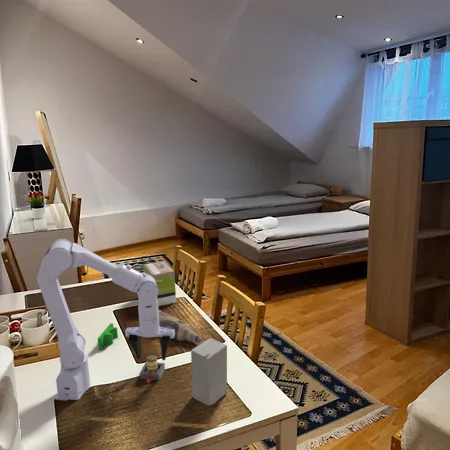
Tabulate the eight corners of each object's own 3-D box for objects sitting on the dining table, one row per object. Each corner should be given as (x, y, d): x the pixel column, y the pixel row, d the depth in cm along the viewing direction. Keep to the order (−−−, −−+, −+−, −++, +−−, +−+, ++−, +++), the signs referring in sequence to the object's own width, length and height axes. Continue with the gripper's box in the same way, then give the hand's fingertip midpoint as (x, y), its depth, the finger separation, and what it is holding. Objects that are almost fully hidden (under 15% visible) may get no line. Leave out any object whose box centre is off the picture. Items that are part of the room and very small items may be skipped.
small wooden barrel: (156, 377, 126) (155, 361, 124) (145, 376, 126) (144, 361, 125) (159, 370, 129) (158, 355, 128) (149, 370, 129) (148, 355, 128)
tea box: (144, 295, 189) (142, 263, 185) (166, 290, 193) (164, 260, 189) (154, 307, 175) (151, 274, 172) (176, 303, 179) (175, 270, 176)
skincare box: (210, 385, 123) (209, 335, 119) (229, 394, 118) (228, 343, 114) (190, 399, 116) (188, 348, 112) (210, 410, 112) (208, 357, 108)
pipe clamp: (109, 351, 143) (108, 339, 141) (98, 350, 143) (97, 338, 142) (121, 334, 153) (120, 323, 152) (111, 334, 154) (110, 323, 153)
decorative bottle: (146, 329, 157) (145, 312, 156) (162, 322, 162) (161, 306, 161) (192, 353, 140) (191, 335, 138) (208, 345, 145) (208, 327, 144)
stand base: (164, 386, 122) (164, 378, 122) (131, 384, 123) (130, 376, 123) (172, 367, 132) (172, 359, 131) (142, 365, 133) (141, 358, 132)
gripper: (176, 311, 126) (178, 351, 129) (129, 309, 128) (132, 349, 131) (170, 321, 119) (173, 364, 122) (121, 320, 121) (125, 362, 124)
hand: (151, 357), depth 126 cm, fingers open, 7 cm apart
